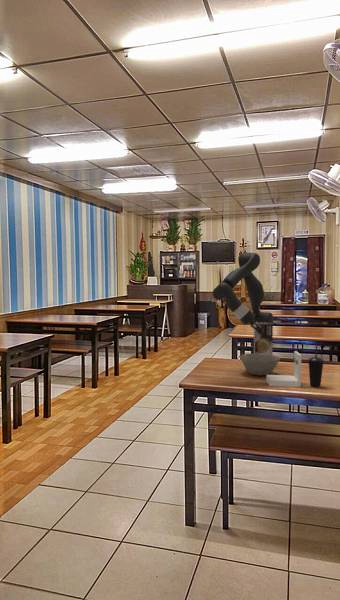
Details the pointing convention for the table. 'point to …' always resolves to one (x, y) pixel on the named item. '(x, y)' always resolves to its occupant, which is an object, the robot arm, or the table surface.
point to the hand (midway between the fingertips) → (266, 337)
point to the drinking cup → (315, 370)
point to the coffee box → (263, 340)
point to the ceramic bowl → (259, 363)
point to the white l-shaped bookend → (286, 379)
